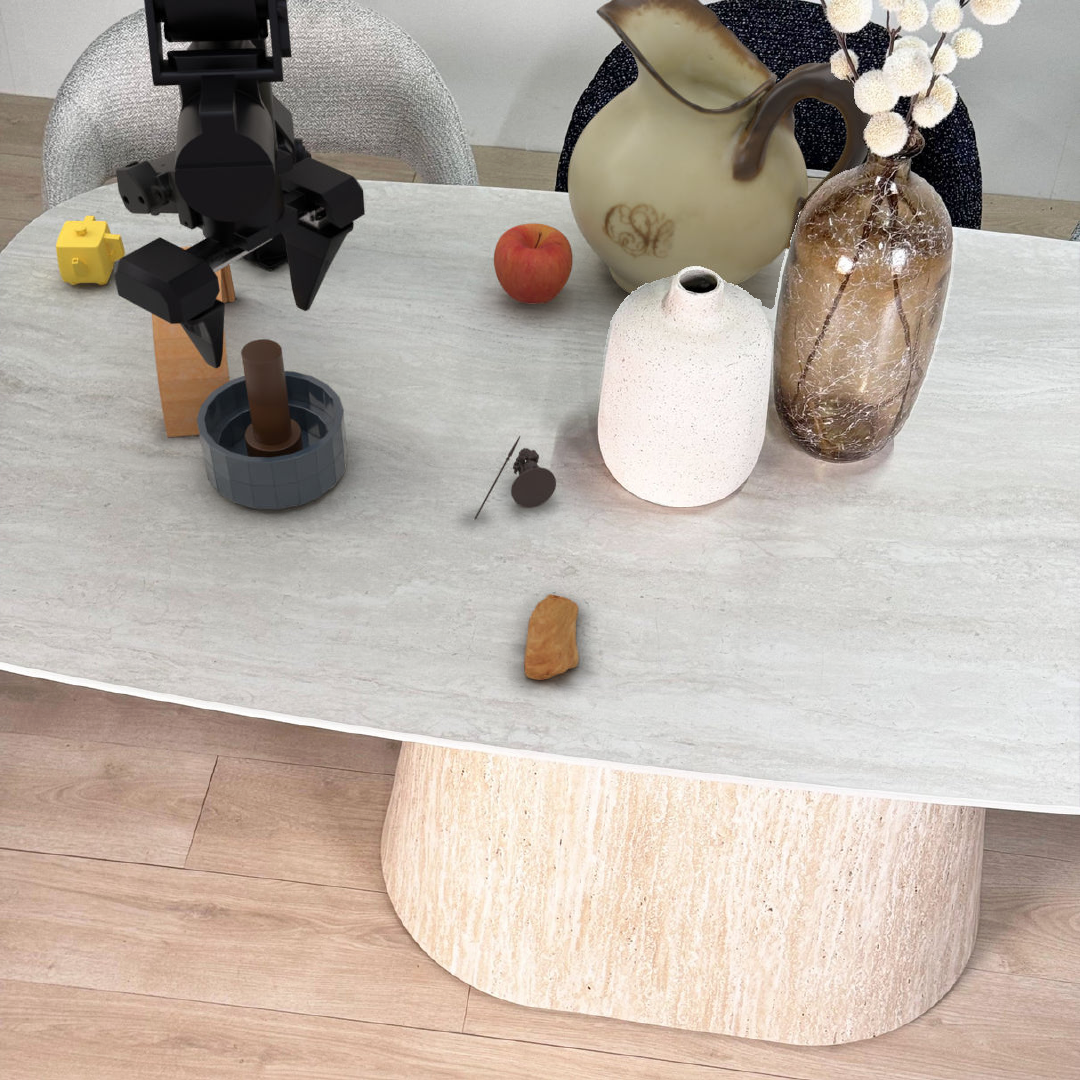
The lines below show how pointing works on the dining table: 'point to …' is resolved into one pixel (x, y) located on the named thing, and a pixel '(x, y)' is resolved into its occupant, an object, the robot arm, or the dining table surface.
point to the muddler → (268, 402)
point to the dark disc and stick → (528, 480)
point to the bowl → (281, 475)
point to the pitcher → (697, 150)
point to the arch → (187, 368)
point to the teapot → (87, 251)
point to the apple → (533, 262)
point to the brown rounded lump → (551, 638)
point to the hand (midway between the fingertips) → (259, 336)
